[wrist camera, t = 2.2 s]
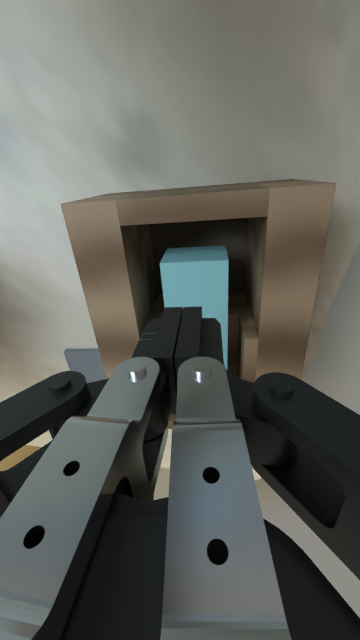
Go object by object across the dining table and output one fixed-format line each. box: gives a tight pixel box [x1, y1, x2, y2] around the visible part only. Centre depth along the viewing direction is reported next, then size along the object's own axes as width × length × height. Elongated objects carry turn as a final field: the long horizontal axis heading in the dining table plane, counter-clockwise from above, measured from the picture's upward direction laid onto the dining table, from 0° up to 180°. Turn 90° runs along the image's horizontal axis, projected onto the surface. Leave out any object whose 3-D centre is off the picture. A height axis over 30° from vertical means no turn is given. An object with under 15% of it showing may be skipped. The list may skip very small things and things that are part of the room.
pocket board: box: [61, 179, 336, 429], centre depth 24 cm, size 20×16×9 cm
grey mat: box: [64, 349, 107, 383], centre depth 35 cm, size 10×10×1 cm
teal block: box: [160, 245, 229, 369], centre depth 23 cm, size 14×4×4 cm, turn 4°
